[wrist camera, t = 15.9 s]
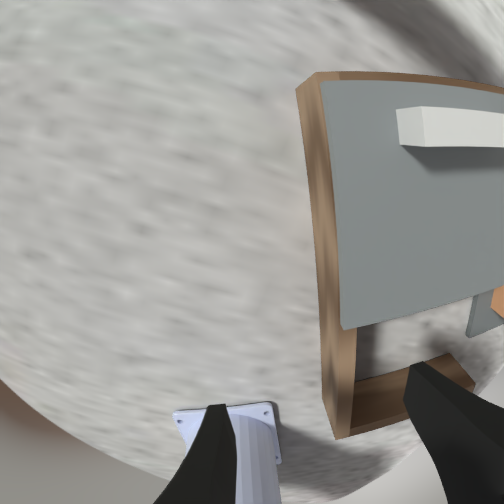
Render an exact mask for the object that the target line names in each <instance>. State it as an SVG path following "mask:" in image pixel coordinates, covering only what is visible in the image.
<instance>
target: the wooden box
mask: <svg viewBox="0 0 504 504" xmlns="http://www.w3.org/2000/svg"><path fill="white" fill-rule="evenodd" d="M339 80H377V81H402V82H417V83H429V84H439V85H448V86H456V87H463V88H470V89H476V90H482V91H488V92H493V93H498V94H503V95H504V88H502V87H497V86H492V85H488V84H482V83H477V82H471V81H466V80H459V79H452V78H445V77H437V76H428V75H418V74H406V73H391V72H360V71H341V72H315V73H314V74H313V75H312V76H311V77H309V78H308V79H307V80H306V81H305V82H303V83H302V84H301V85H300V86H299V87H297V88H296V96H297V102H298V108H299V115H300V122H301V129H302V136H303V143H304V151H305V159H306V167H307V175H308V184H309V193H310V202H311V212H312V222H313V232H314V244H315V256H316V269H317V283H318V299H319V316H320V338H321V367H322V399H323V402H324V405H325V409H326V412H327V415H328V418H329V421H330V424H331V427H332V431H333V434H334V437H335V440H338V439H342V438H346V437H350V436H354V435H357V434H361V433H365V432H368V431H372V430H375V429H378V428H382V427H385V426H388V425H391V424H394V423H397V422H400V421H403V420H406V419H409V418H410V417H409V415H408V412H407V410H406V407H405V405H404V402H403V396H404V392H405V387H406V383H407V378H408V373H409V368H410V367H407V368H404V369H401V370H398V371H394V372H391V373H387V374H384V375H380V376H377V377H373V378H369V379H366V380H362V381H358V382H354V378H355V362H356V340H357V328H352V329H348V330H343V328H342V326H341V324H340V286H339V261H338V243H337V227H336V214H335V201H334V190H333V180H332V170H331V161H330V152H329V144H328V136H327V128H326V121H325V114H324V107H323V101H322V94H321V88H320V83H321V82H323V81H339ZM425 363H426V364H428V365H430V366H431V367H433V368H434V369H435V370H437V371H438V372H440V373H441V374H443V375H444V376H446V377H447V378H449V379H450V380H452V381H453V382H455V383H456V384H458V385H460V386H461V387H463V388H464V389H466V390H468V391H469V392H471V393H472V392H473V390H474V387H475V384H476V383H475V382H474V381H473V380H472V378H471V377H470V376H469V375H468V374H467V372H466V371H465V370H464V369H463V368H462V367H461V365H460V364H459V363H458V362H457V361H456V360H455V358H454V357H453V356H452V355H451V354H450V353H448V354H446V355H443V356H440V357H437V358H434V359H432V360H429V361H426V362H425Z"/></svg>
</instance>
